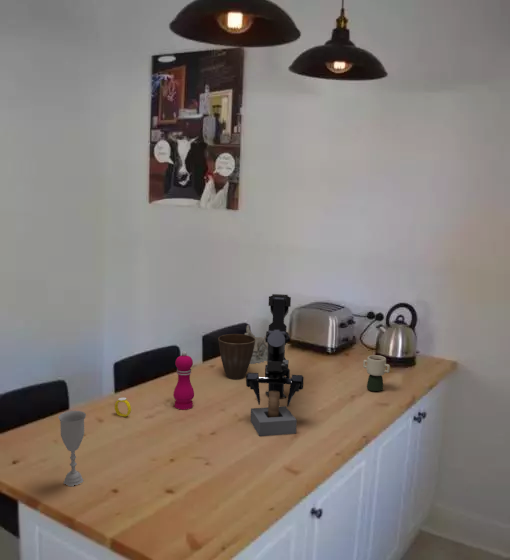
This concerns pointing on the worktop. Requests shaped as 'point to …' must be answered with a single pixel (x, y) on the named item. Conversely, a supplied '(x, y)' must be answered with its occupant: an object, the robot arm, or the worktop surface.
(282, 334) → the robot arm
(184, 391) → the pepper mill
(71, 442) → the chalice
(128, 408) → the yellow ring
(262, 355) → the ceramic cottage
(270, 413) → the walnut pin
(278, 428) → the socket block
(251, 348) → the plant pot
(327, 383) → the worktop surface
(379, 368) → the cream and green vessel
